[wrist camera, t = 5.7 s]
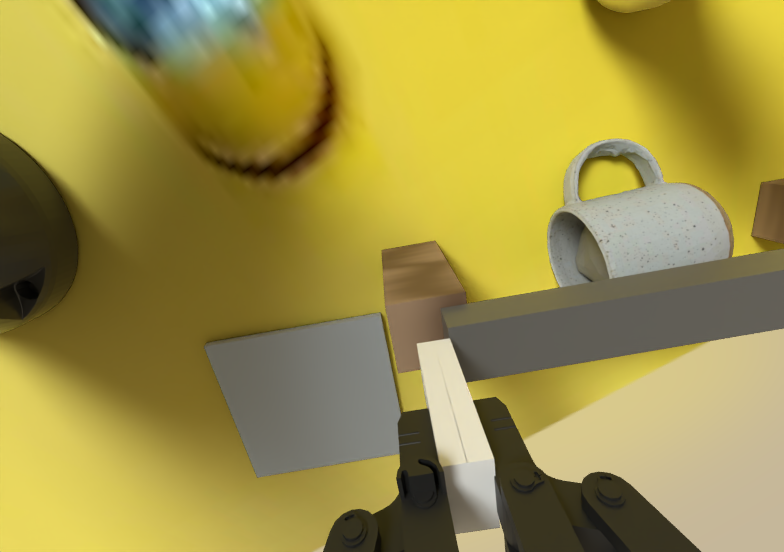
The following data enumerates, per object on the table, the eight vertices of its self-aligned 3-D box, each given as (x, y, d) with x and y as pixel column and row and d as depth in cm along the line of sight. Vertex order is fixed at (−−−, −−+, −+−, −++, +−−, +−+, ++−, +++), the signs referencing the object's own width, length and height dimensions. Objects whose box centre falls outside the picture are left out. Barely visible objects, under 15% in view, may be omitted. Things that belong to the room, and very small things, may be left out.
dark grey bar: (447, 360, 19) (455, 384, 17) (440, 308, 18) (447, 328, 16) (877, 286, 19) (933, 302, 17) (895, 228, 17) (958, 239, 16)
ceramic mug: (656, 264, 29) (751, 304, 21) (553, 294, 29) (612, 343, 22) (649, 123, 25) (760, 113, 18) (531, 159, 26) (593, 164, 18)
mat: (259, 471, 34) (257, 477, 33) (207, 342, 29) (203, 346, 29) (407, 446, 34) (408, 452, 33) (380, 312, 29) (380, 315, 28)
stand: (390, 298, 28) (398, 373, 19) (381, 250, 27) (385, 305, 18) (804, 226, 28) (1011, 268, 19) (816, 172, 27) (1046, 190, 17)
